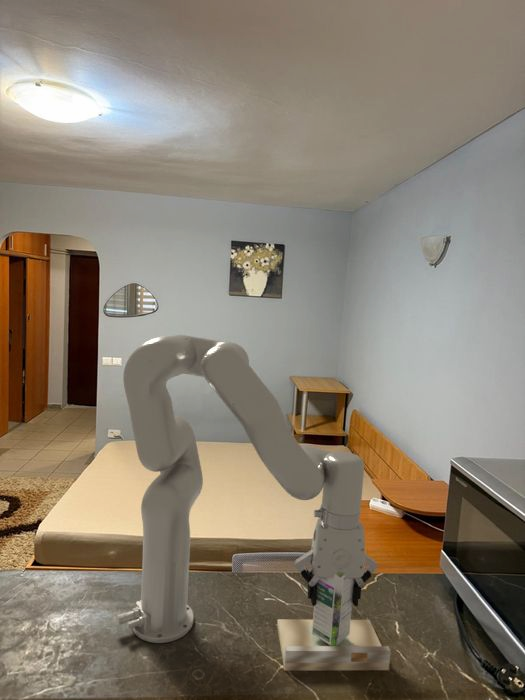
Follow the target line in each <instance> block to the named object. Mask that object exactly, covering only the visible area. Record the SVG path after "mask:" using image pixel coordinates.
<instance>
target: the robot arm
mask: <svg viewBox="0 0 525 700" xmlns="http://www.w3.org/2000/svg"><path fill="white" fill-rule="evenodd" d="M180 375H190V376H196V377H202V378H204V379H205V381H206V383H208V384H209V386H210V387H211V389H212V390H213V391H214V392H215V393H216V395H217V396H218V398H220V399H221V401H222V402H223V404H225V406H226V407H227V408H228V410H229V411H230V412H231V413H232V415H233V416H234V417H235V418H236V420H237V421H238V422H239V424H240V425H241V426H242V427H243V430H244V431H245V434H246V436H247V438H248V439H249V441H250V443H251V444H252V446H253V448H254V450H255V451H256V453H257V455H258V457H259V458H260V460H261V462H262V463H263V465H264V466H265V467H266V469H267V470H268V471H269V473H270V474H271V475H272V477H273V478H274V479H275V480H276V481H277V483H278V484H279V485H280V487H282V489H283V490H284V491H285V492H286V493H287V494H289V495H290V496H291V497H292V498H295V499H296V500H300V501H308V500H312V499H314V498H317V496H319V494H320V493H321V492H322V501H321V504H320V507H319V508H318V509H314V510H313V517H314V518H318V519H317V521H316V525H315V527H314V531H313V535H312V536H313V537H312V541H311V548H310V550H308V551H307V552H306V553H304V554H303V555H301V556H299V557H298V558H296V559H295V560H294V565H295V567H296V569H297V570H298V572H299V573H300V575H301V577H302V578H303V579H304V580H305V581H306V582H307V591H306V592H307V593H306V594H307V599H309V600H310V602H311V605H312V607H314V606H315V605H316V601H317V584H316V582H317V581H318V580H319V578H334V575H335V574H344V575H345V578H354V586H353V598H352V606H354V607H358V606H359V600H361V596H362V595H361V594H362V587H364V586H365V583H366V582H367V581H368V580H369V579H370V578H371V577H372V574H374V572H376V570H377V569H378V568H379V565H378V564H377V562H376V560H374V559H373V558H372V557H370V556H369V555H368V554H366V541H365V540H366V539H365V537H366V536H365V530H364V529H365V528H364V525H363V524H362V523H361V521H360V519H361V511H362V510H361V508H362V497H363V487H364V477H365V476H364V473H365V463H364V459H362V457H360V456H359V455H358V454H355V453H351V452H349V451H347V452H346V451H329V450H325V449H322V448H319V447H315V446H314V447H313V446H311V445H310V446H309V445H300V444H299V442H298V441H297V439H296V438H295V437H294V435H293V433H292V432H291V429H290V428H289V426H288V424H287V422H286V419H285V417H284V415H283V414H284V413H283V411H282V408H281V406H280V403H279V402H278V399H277V398H276V397H275V395H274V394H273V393H272V391H271V390H270V389H269V387H267V386H266V384H265V383H264V382H263V381H262V379H261V378H260V377H259V376H258V374H257V373H256V371H254V369H253V368H252V367H251V366H250V359H249V355H248V352H246V350H245V349H244V348H243V347H242V346H241V345H239V344H237V343H235V342H231V341H223V340H216V339H209V338H203V337H197V336H191V335H187V334H186V335H184V334H173V335H172V334H171V335H163V336H158V337H154V338H151V339H150V340H147V341H146V342H143V343H142V344H140V345H139V346H138V347H137V348H136V349H135V350H134V351H133V352H132V353H131V355H130V356H128V359H127V361H126V363H125V366H124V369H123V380H122V381H123V387H124V393H125V396H126V401H127V404H128V409H129V415H130V423H131V428H132V432H133V437H134V442H135V443H134V444H135V448H136V451H137V457H138V460H139V461H140V463H141V465H142V466H143V467H144V468H145V469H147V470H149V471H151V472H154V473H155V472H156V473H157V472H160V474H159V475H157V477H156V478H155V479H154V480H153V481H152V482H151V483H150V485H148V487H147V488H146V490H145V491H144V494H143V495H142V496H143V497H142V499H141V507H140V509H141V521H142V531H143V532H142V535H143V537H142V564H141V565H142V567H141V569H142V570H141V588H140V600H137V601H135V602H136V603H135V607H134V608H131V610H130V611H128V612H123V613H120V614H117V615H116V617H115V621H116V625H117V627H120V626H122V625H126V629H127V630H128V631H129V630H132V631H133V633H134V634H135V635H136V636H137V637H138V638H139V639H141V640H143V641H146V642H149V643H153V644H165V643H170V642H174V641H176V640H179V639H180V638H182V637H184V636H185V635H186V634H188V632H189V631H190V630H191V629H192V627H193V624H194V616H195V615H194V611H193V610H192V608H191V607H190V606H189V604H188V591H189V571H190V555H191V550H190V548H191V529H190V513H191V509H192V508H193V506H194V504H195V502H196V500H197V499H198V497H199V496H200V494H201V492H202V489H203V485H204V477H203V472H202V466H201V461H200V460H201V459H200V456H199V451H198V446H197V440H196V437H195V436H196V435H195V433H194V430H193V427H192V426H191V425H190V423H189V422H188V421H187V420H186V419H185V417H182V416H180V415H177V414H175V412H174V407H173V401H172V398H171V395H170V393H169V390H168V388H167V382H168V381H169V380H171V379H173V378H174V377H179V376H180ZM308 563H310V565H311V566H312V567H311V568H310V569H309V570H308V569H307V568H306V567H305V565H307V564H308Z"/></svg>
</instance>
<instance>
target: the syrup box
mask: <svg viewBox="0 0 525 700" xmlns="http://www.w3.org/2000/svg"><path fill="white" fill-rule="evenodd" d="M316 584H317V601H316V605H315V606H313V614H312V616H313V617H312V620H313V624H312V634H313V635H315V636H317V637H318V638H320V639H321V640H323V641H324V642H326V643H328V644H329V645H331V646H338V645H339V644H340V643H341V642H342V641H343V640H344V639H345V638H346V637H347V636H348V635H349V633H350V621H351V620H352V609H353V608H352V607H353V602H352V598H353V586H354V578H345V575H344V574H335V575H334V578H319V580H318V581H317V582H316Z"/></svg>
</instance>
